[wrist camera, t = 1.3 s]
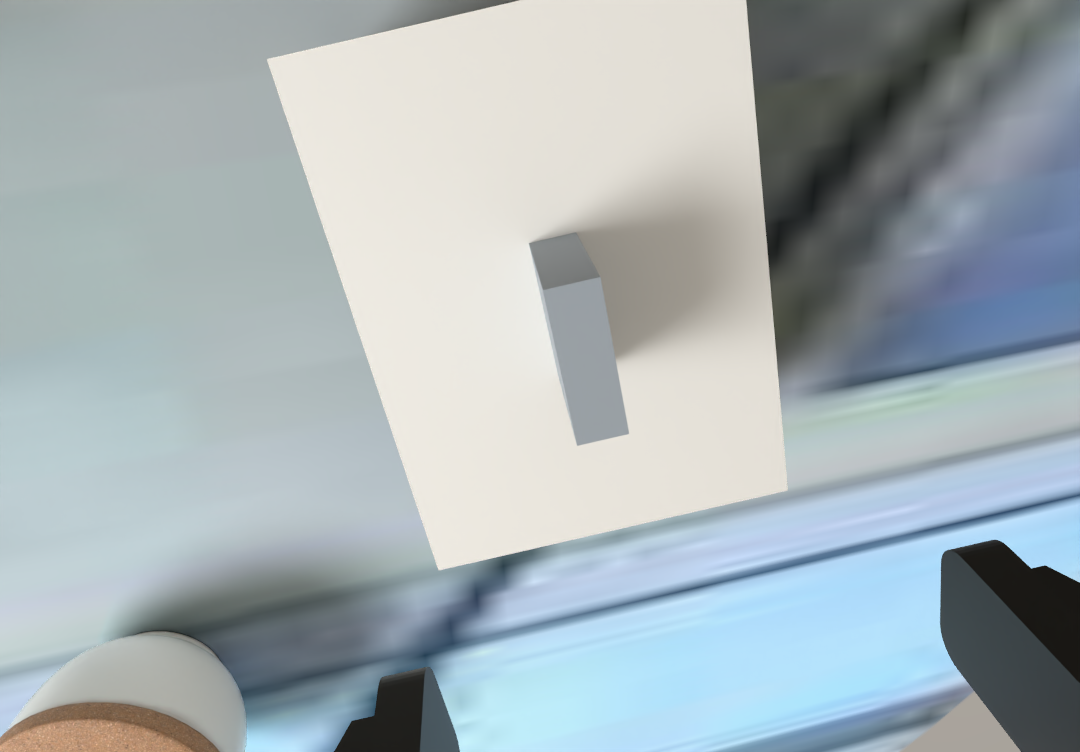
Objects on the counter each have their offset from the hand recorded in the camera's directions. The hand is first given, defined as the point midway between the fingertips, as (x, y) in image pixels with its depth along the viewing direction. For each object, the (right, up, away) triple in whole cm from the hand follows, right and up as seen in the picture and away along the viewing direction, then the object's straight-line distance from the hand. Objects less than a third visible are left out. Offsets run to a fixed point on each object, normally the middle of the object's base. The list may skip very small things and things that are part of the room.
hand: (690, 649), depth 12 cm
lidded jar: (-22, -12, +29) cm, 39 cm away
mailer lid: (-2, +8, +17) cm, 19 cm away
